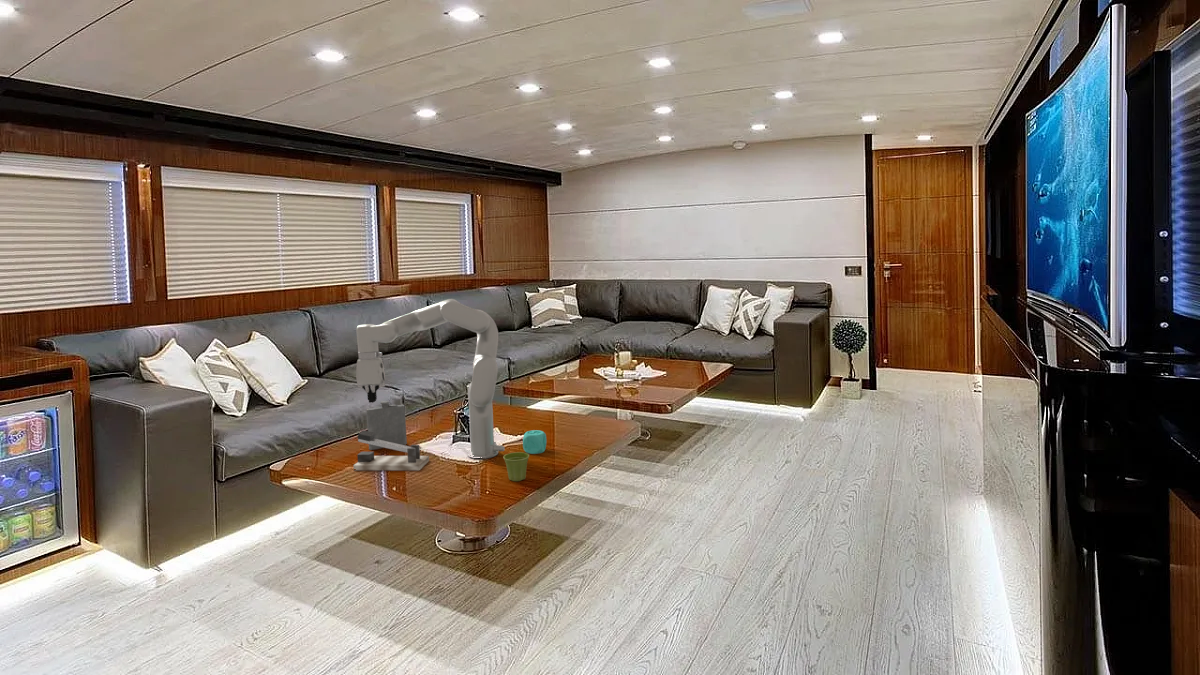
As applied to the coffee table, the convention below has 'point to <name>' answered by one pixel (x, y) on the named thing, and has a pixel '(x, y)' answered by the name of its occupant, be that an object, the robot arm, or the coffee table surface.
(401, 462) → the base
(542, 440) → the decorative dice
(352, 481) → the coffee table surface
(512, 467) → the plant pot
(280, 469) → the coffee table surface
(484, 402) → the robot arm
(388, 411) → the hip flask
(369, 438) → the lever
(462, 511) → the coffee table surface
